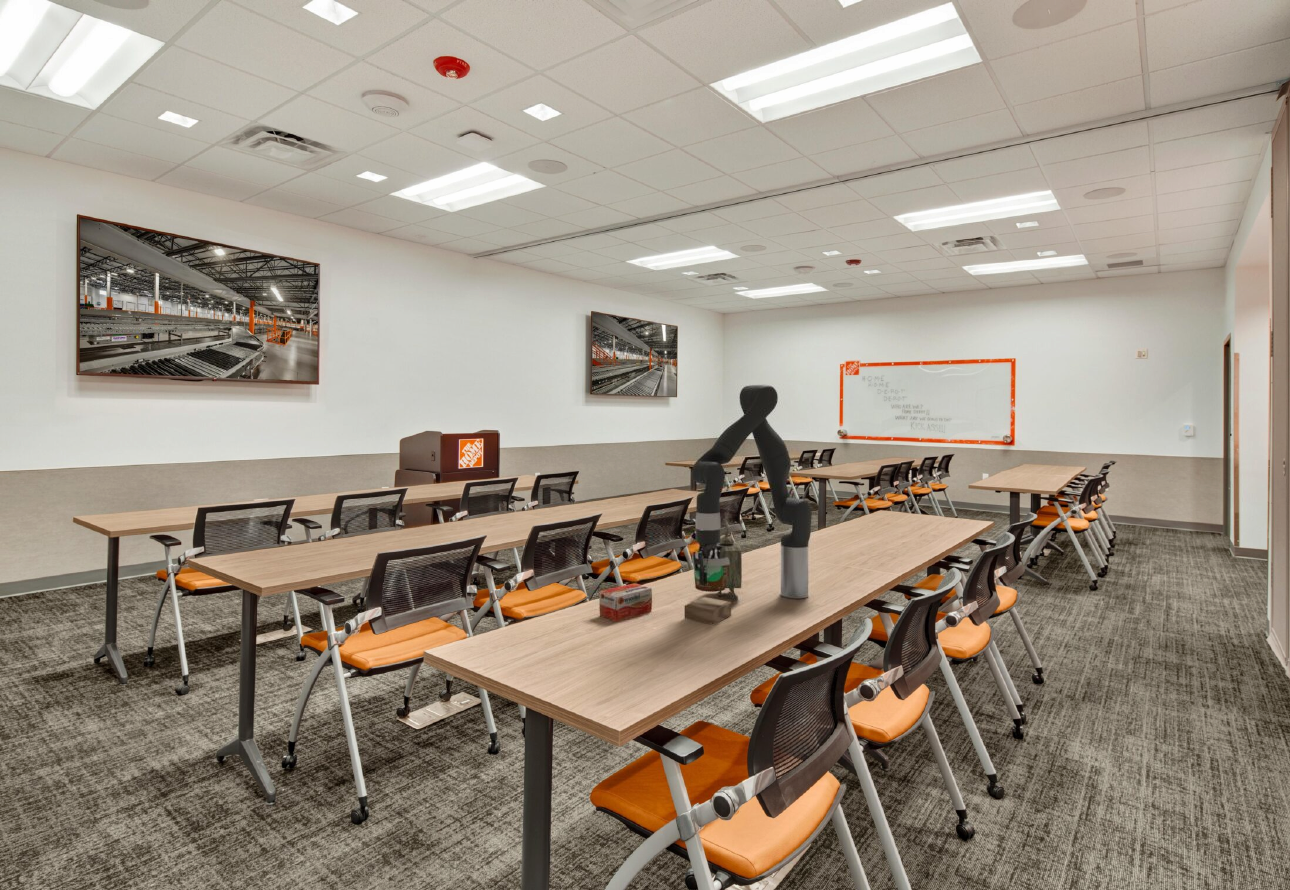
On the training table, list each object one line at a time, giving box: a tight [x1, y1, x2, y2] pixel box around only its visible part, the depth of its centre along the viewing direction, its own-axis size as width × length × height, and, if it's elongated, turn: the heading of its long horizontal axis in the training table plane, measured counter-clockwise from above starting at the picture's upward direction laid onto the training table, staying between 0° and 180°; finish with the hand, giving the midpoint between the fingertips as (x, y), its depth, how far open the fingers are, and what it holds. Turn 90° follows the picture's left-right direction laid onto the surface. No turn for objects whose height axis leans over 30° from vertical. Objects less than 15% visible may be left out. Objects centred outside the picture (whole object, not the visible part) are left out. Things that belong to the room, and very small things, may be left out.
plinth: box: [684, 596, 732, 625], centre depth 199 cm, size 11×10×4 cm
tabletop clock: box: [717, 522, 743, 601], centre depth 222 cm, size 14×9×25 cm, turn 179°
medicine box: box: [599, 582, 653, 623], centre depth 202 cm, size 15×8×8 cm, turn 133°
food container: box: [690, 555, 730, 593], centre depth 198 cm, size 12×6×10 cm, turn 62°
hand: (708, 582), depth 198 cm, fingers closed on food container, 5 cm apart
